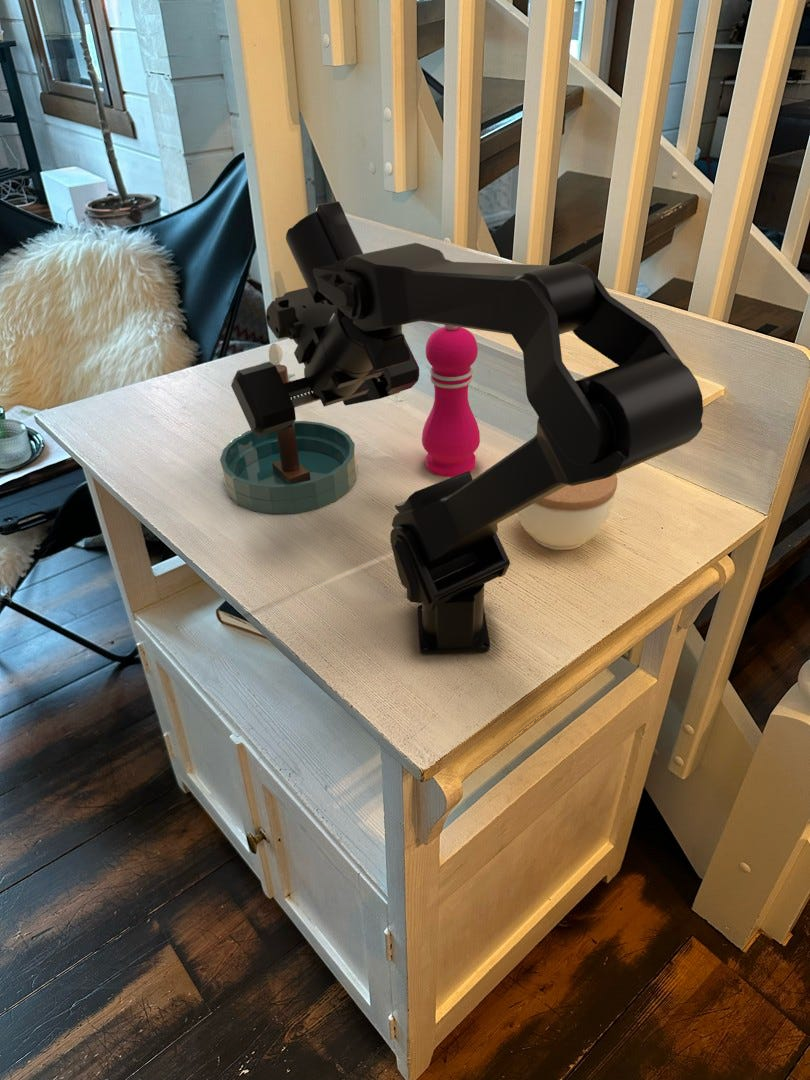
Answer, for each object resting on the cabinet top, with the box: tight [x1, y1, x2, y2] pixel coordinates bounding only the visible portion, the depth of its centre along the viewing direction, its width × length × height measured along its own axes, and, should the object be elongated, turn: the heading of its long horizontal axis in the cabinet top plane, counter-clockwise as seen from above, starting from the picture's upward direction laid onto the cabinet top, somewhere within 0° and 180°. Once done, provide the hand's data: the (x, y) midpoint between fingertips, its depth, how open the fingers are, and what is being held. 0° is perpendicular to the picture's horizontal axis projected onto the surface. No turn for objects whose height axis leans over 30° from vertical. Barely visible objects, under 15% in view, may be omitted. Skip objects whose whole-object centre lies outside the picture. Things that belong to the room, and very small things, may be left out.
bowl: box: [219, 420, 358, 515], centre depth 94 cm, size 16×16×4 cm
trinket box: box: [516, 474, 618, 551], centre depth 82 cm, size 11×11×9 cm
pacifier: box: [260, 343, 296, 380], centre depth 117 cm, size 7×6×6 cm
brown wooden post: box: [272, 364, 311, 484], centre depth 90 cm, size 5×3×14 cm, turn 34°
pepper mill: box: [421, 325, 481, 478], centre depth 91 cm, size 7×7×20 cm
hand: (308, 412), depth 83 cm, fingers open, 9 cm apart
